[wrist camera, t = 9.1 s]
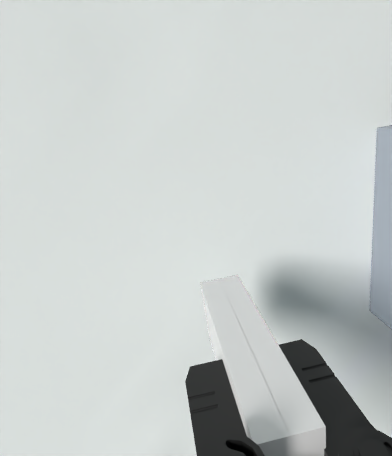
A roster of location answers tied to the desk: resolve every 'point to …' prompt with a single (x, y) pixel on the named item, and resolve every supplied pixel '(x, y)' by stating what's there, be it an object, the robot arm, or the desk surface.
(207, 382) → the robot arm
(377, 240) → the slate block
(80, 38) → the desk surface
